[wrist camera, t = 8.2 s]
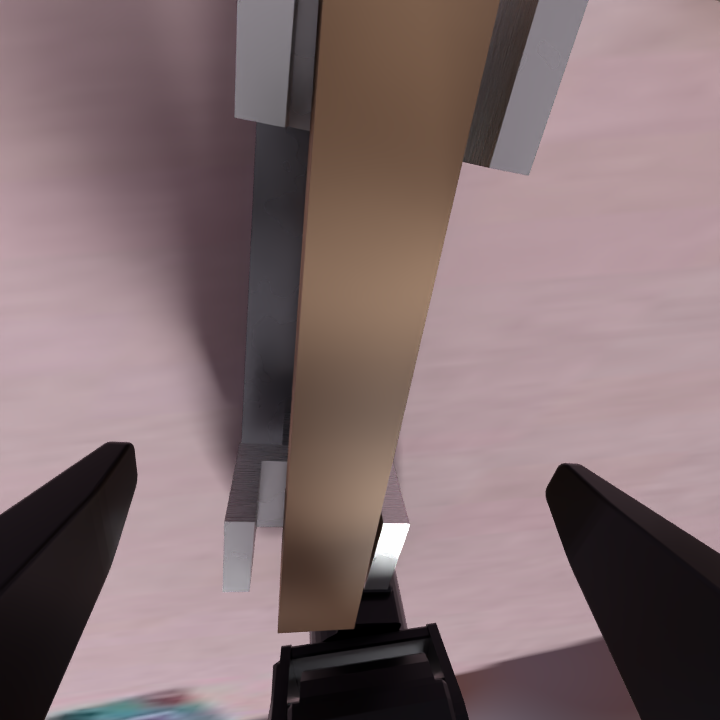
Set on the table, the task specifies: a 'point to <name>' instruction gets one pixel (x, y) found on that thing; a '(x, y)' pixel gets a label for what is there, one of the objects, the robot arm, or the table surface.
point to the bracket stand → (286, 217)
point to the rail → (368, 273)
